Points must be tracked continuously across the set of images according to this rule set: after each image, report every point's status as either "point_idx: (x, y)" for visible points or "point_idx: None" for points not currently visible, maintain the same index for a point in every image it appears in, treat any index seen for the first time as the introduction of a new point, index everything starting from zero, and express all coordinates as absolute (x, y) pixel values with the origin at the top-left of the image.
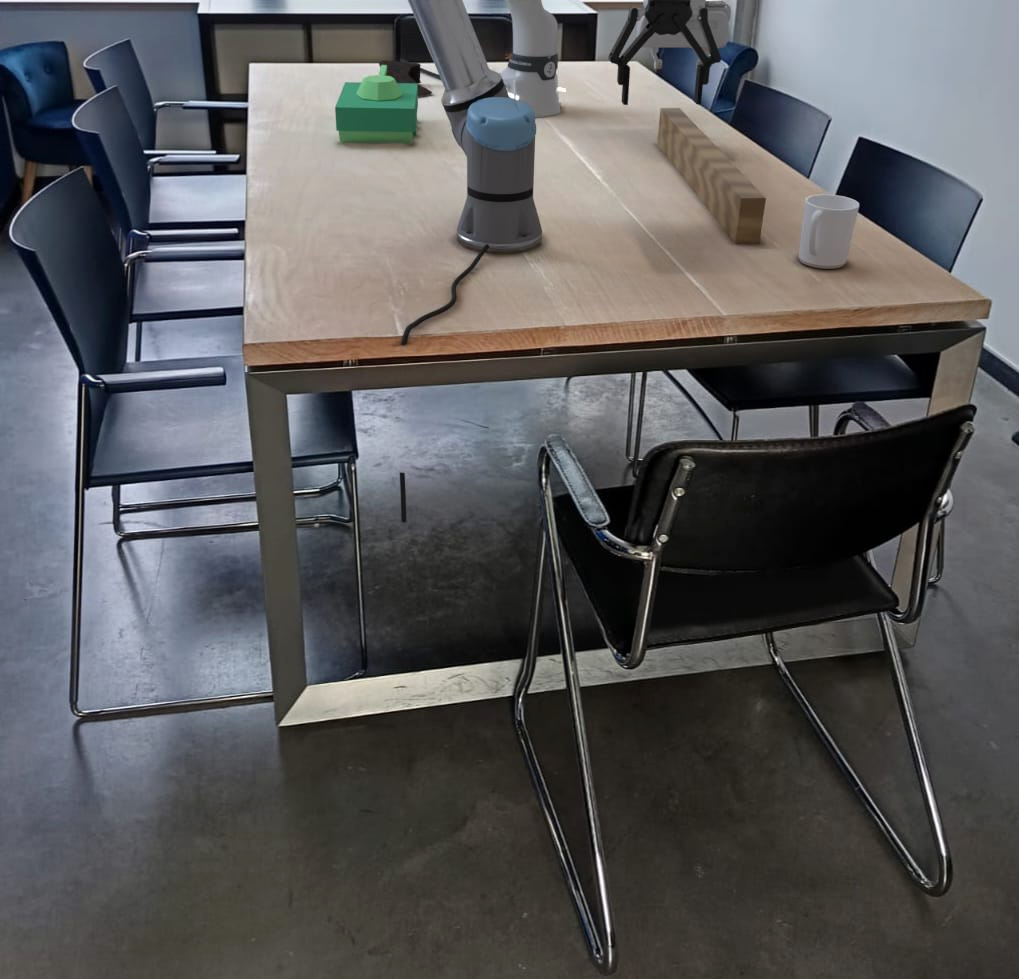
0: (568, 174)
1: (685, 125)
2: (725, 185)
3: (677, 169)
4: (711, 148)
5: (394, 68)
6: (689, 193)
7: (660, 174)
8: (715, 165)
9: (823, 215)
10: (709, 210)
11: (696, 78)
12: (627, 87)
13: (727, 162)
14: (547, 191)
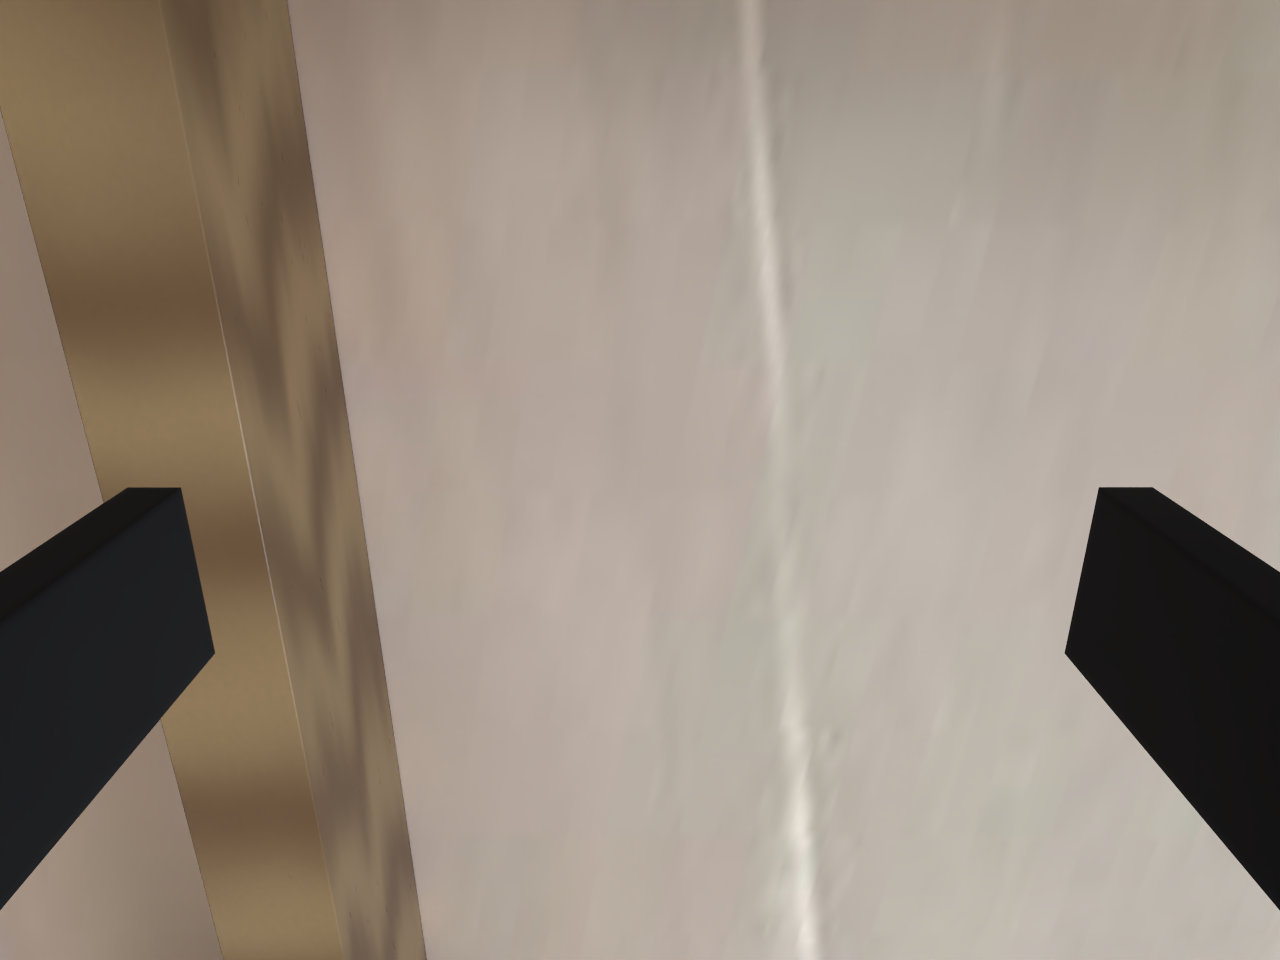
0: (927, 859)
1: None
2: (177, 12)
3: (418, 911)
4: (222, 793)
5: None
6: (404, 596)
7: (504, 857)
8: (218, 436)
9: None
10: (331, 312)
11: (27, 835)
12: (1265, 594)
13: None
14: None
